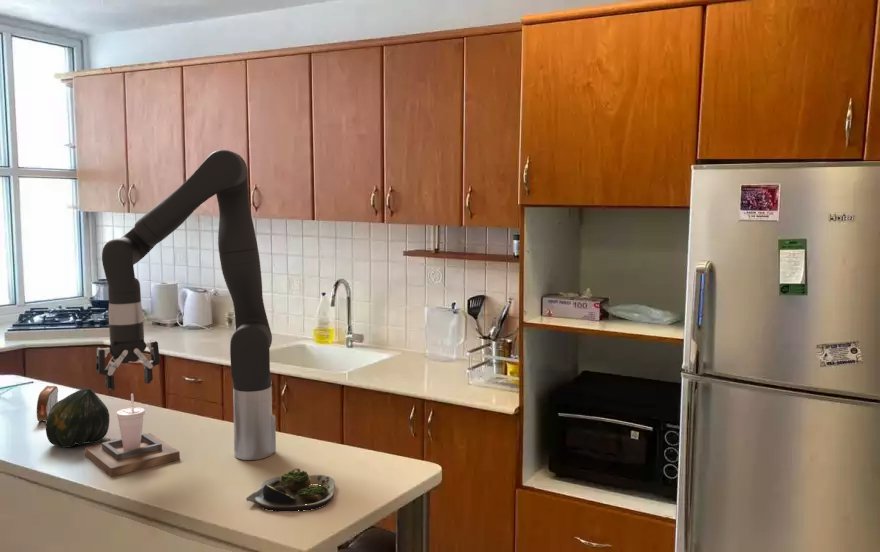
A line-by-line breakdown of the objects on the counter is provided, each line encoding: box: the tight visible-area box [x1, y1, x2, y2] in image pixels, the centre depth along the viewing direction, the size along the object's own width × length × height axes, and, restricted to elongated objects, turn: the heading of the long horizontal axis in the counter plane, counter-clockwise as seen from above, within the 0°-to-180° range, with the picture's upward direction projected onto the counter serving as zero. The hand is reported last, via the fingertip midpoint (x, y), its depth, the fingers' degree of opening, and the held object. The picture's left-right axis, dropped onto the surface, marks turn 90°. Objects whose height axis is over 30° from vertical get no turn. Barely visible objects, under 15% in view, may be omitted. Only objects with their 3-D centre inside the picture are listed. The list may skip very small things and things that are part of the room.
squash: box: [45, 387, 110, 448], centre depth 179 cm, size 14×15×15 cm
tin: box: [36, 385, 59, 422], centre depth 200 cm, size 15×3×8 cm, turn 17°
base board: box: [84, 432, 181, 477], centre depth 169 cm, size 16×18×4 cm
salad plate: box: [245, 468, 336, 512], centre depth 150 cm, size 19×18×5 cm
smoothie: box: [115, 393, 146, 451], centre depth 169 cm, size 6×6×14 cm
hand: (129, 386), depth 168 cm, fingers open, 8 cm apart
